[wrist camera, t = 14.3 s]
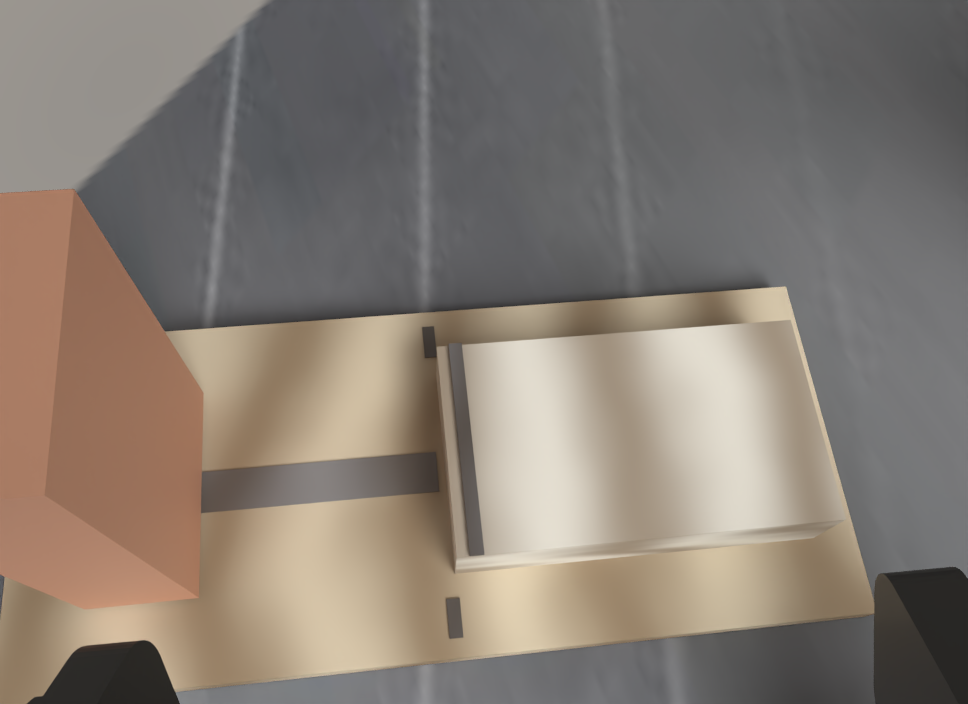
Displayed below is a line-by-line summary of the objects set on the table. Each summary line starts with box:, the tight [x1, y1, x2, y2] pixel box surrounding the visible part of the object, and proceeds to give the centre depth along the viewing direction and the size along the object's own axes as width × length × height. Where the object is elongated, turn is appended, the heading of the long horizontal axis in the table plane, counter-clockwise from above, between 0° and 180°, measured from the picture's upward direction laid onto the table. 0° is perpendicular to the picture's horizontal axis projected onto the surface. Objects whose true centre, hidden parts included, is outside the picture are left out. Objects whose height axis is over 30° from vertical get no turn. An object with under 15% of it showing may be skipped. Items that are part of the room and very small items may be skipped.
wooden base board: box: [0, 287, 874, 704], centre depth 34 cm, size 32×14×4 cm, turn 96°
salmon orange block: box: [0, 189, 204, 609], centre depth 27 cm, size 4×8×14 cm, turn 6°
